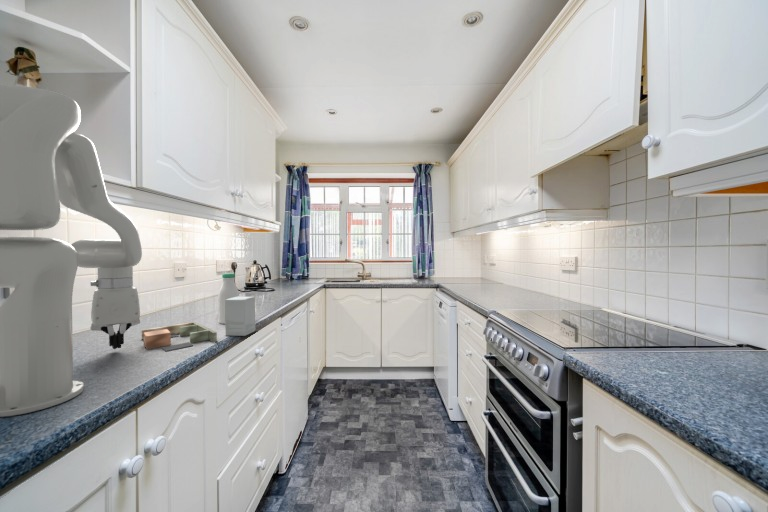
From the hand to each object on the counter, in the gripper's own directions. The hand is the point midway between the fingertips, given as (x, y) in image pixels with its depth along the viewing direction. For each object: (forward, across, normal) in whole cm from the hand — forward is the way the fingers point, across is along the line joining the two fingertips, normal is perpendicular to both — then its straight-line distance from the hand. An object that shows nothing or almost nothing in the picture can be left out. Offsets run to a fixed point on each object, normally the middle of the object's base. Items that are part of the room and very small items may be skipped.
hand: (116, 347), depth 86 cm
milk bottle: (+2, +37, +15) cm, 40 cm away
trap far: (+1, +13, +8) cm, 15 cm away
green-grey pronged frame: (+1, +15, 0) cm, 15 cm away
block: (+2, +10, 0) cm, 10 cm away
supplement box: (+2, +32, -6) cm, 33 cm away
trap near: (+1, +13, -8) cm, 15 cm away
